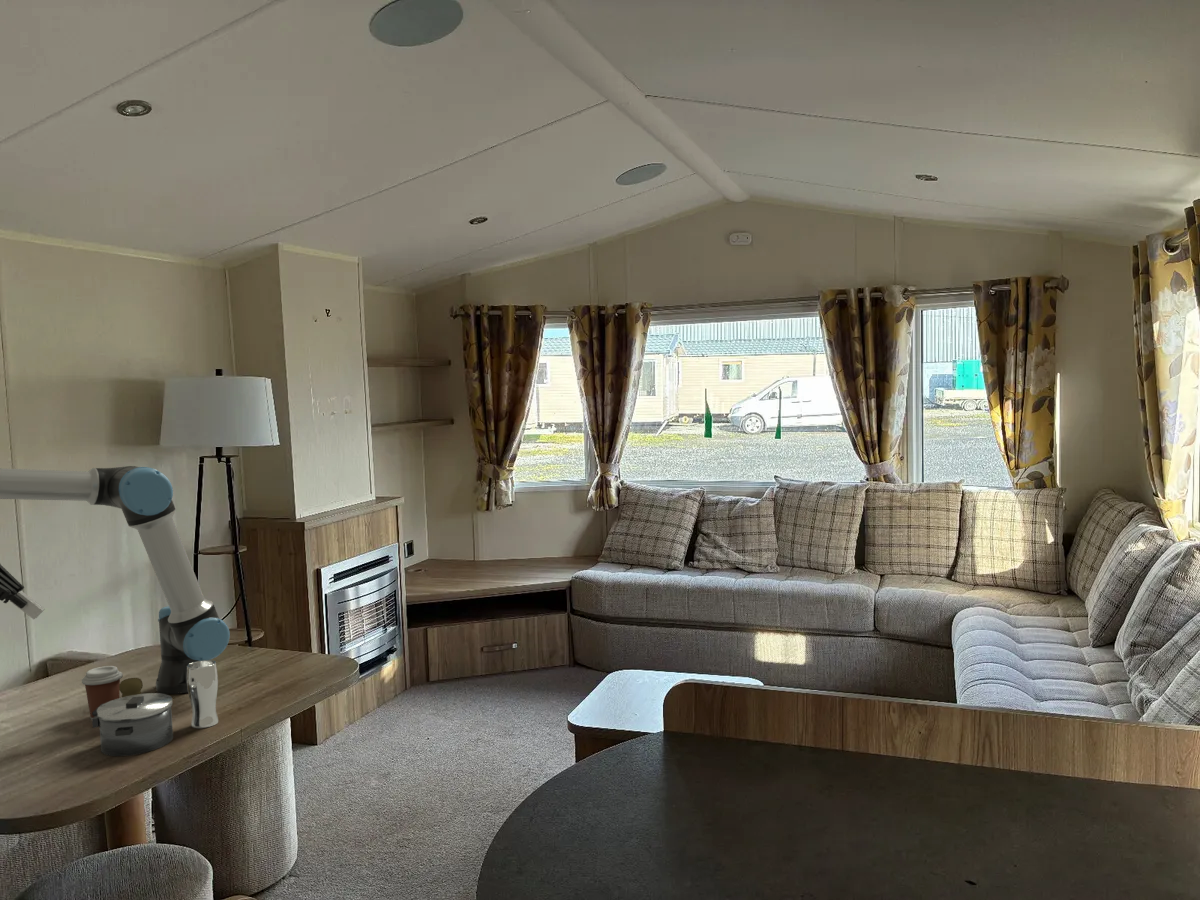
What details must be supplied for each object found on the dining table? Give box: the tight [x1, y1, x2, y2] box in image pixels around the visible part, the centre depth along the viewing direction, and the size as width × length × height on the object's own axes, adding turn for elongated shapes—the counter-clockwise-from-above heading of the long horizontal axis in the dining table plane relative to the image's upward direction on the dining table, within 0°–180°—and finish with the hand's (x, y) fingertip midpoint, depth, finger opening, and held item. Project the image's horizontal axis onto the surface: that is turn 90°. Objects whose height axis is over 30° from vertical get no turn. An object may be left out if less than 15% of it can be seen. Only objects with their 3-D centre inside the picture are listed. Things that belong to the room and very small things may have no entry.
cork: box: [119, 677, 143, 698], centre depth 224 cm, size 6×6×11 cm
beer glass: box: [187, 659, 219, 729], centre depth 221 cm, size 7×7×15 cm
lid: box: [92, 692, 173, 722], centre depth 210 cm, size 16×16×2 cm
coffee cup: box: [81, 665, 124, 721], centre depth 229 cm, size 9×9×12 cm
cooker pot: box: [91, 706, 174, 757], centre depth 210 cm, size 16×19×8 cm
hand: (39, 614), depth 205 cm, fingers closed
